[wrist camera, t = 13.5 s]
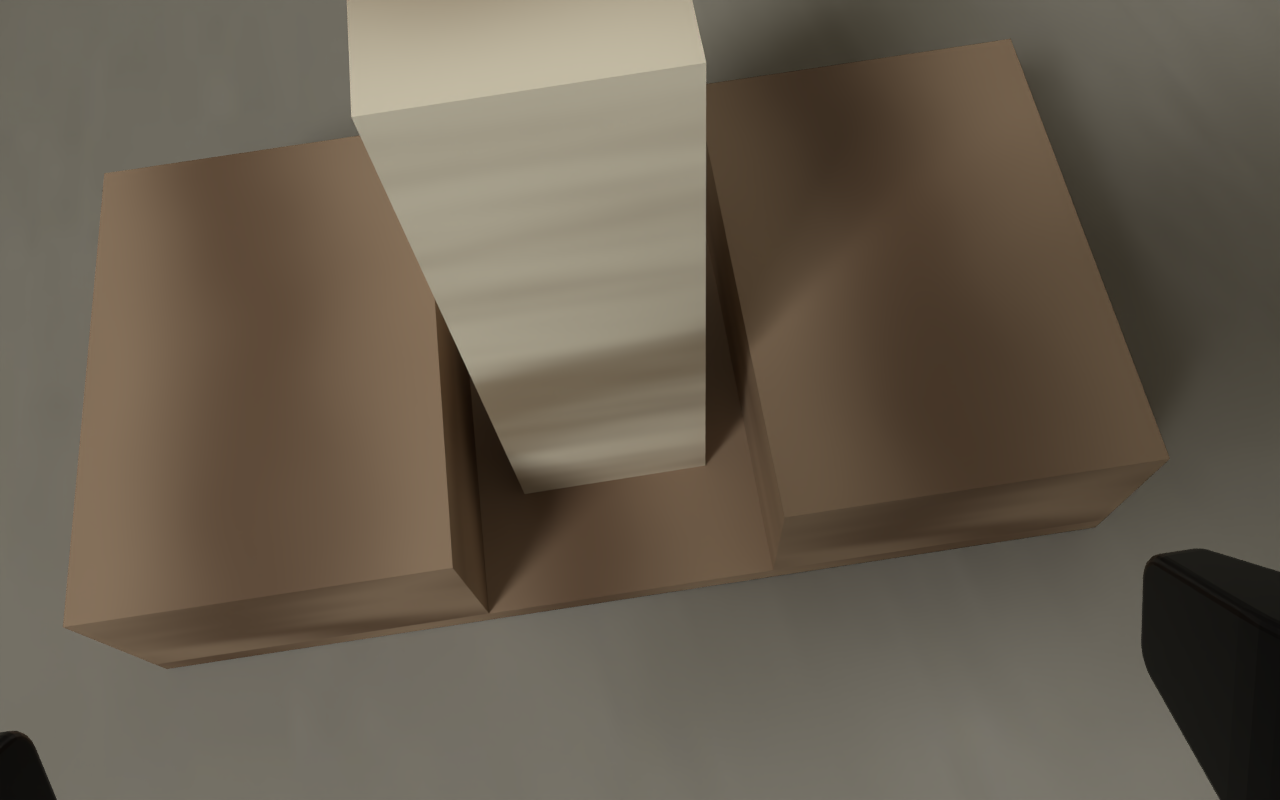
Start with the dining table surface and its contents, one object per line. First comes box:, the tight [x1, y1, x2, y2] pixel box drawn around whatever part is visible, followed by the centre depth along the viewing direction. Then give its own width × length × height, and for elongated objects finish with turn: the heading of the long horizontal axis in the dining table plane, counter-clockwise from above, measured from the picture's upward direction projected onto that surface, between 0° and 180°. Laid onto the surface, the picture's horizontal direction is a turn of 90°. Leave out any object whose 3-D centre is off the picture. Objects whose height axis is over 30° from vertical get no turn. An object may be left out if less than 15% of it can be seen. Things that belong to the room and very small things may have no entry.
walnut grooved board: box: [63, 39, 1170, 669], centre depth 23 cm, size 20×10×4 cm, turn 98°
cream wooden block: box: [347, 0, 706, 494], centre depth 19 cm, size 5×4×12 cm
